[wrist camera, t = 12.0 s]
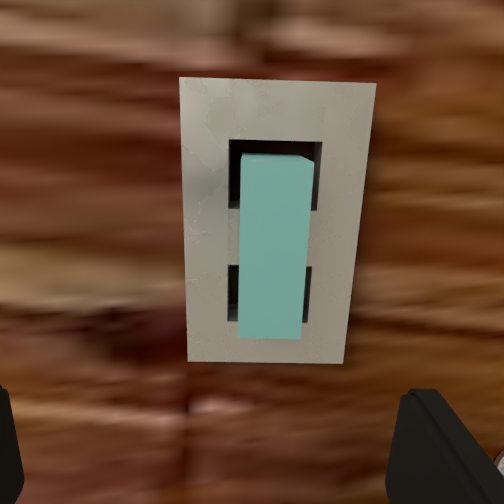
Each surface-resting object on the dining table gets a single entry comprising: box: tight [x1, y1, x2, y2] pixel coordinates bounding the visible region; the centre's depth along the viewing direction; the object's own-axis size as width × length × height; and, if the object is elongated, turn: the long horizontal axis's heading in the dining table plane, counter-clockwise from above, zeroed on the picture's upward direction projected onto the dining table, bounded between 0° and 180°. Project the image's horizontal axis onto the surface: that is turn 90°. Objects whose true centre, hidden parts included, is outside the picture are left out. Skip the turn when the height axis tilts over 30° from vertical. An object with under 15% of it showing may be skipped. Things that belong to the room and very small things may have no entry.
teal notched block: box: [238, 153, 314, 339], centre depth 25 cm, size 11×4×7 cm, turn 178°
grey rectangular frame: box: [179, 77, 376, 364], centre depth 27 cm, size 20×12×3 cm, turn 178°
